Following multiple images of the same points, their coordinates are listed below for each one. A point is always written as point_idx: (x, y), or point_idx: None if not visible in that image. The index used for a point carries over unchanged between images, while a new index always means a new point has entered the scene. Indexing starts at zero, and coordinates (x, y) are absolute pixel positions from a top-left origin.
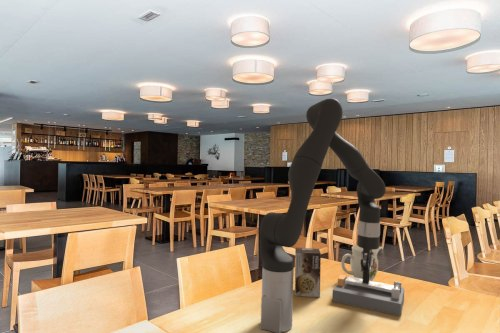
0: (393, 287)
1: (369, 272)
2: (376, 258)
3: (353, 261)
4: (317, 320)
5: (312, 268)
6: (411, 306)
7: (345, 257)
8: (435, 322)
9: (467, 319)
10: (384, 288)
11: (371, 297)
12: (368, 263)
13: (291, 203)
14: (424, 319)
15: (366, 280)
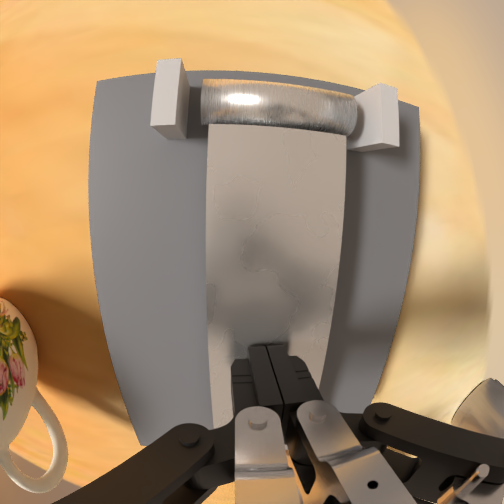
0: (277, 128)
1: (327, 402)
2: None
3: (13, 439)
4: (462, 365)
5: None
6: (223, 57)
7: (43, 485)
8: (355, 3)
9: None
10: (343, 205)
11: (405, 272)
12: (496, 450)
13: None
14: (353, 29)
15: (301, 367)
